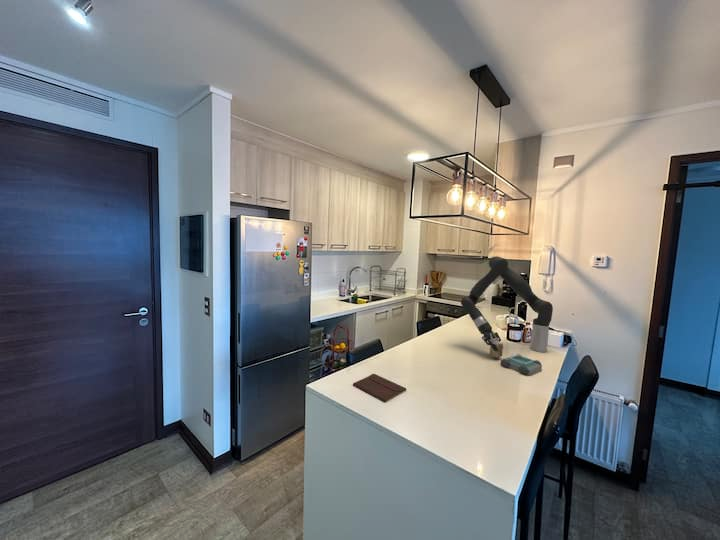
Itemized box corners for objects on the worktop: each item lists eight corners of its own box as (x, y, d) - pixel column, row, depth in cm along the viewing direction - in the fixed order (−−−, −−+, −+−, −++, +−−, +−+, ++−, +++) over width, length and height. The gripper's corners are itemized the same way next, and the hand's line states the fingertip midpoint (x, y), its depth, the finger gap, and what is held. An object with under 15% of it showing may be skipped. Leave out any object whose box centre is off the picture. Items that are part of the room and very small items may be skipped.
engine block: (494, 353, 179) (495, 340, 178) (502, 355, 175) (503, 343, 174) (489, 354, 176) (490, 341, 175) (497, 357, 172) (498, 344, 171)
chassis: (513, 359, 174) (514, 351, 174) (542, 370, 161) (543, 361, 160) (499, 365, 165) (499, 356, 165) (528, 376, 152) (529, 367, 152)
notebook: (385, 404, 122) (385, 399, 122) (352, 386, 136) (352, 382, 136) (406, 391, 133) (406, 387, 133) (374, 376, 147) (374, 373, 147)
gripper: (479, 323, 176) (497, 349, 167) (493, 320, 184) (510, 344, 175) (471, 329, 181) (487, 354, 172) (485, 326, 189) (501, 350, 180)
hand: (499, 349), depth 173 cm, fingers closed on engine block, 5 cm apart
